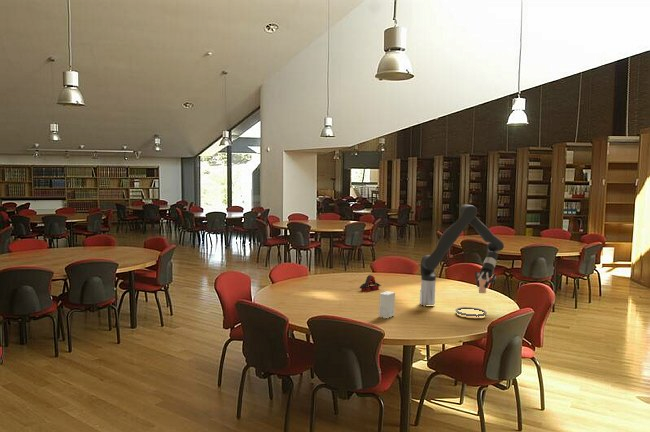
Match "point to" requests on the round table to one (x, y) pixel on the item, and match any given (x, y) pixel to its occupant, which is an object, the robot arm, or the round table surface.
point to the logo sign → (369, 288)
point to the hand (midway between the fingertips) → (481, 286)
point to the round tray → (471, 314)
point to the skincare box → (387, 304)
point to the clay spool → (482, 285)
